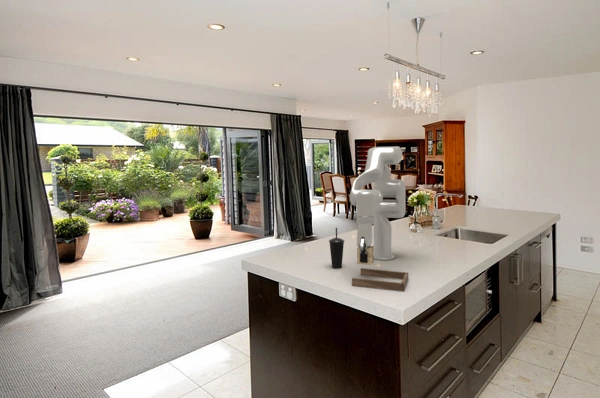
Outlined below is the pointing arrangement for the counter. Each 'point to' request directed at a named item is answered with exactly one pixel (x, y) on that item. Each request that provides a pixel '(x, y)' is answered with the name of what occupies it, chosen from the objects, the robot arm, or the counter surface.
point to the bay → (381, 284)
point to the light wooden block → (370, 255)
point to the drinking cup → (336, 251)
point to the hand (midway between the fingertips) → (365, 260)
